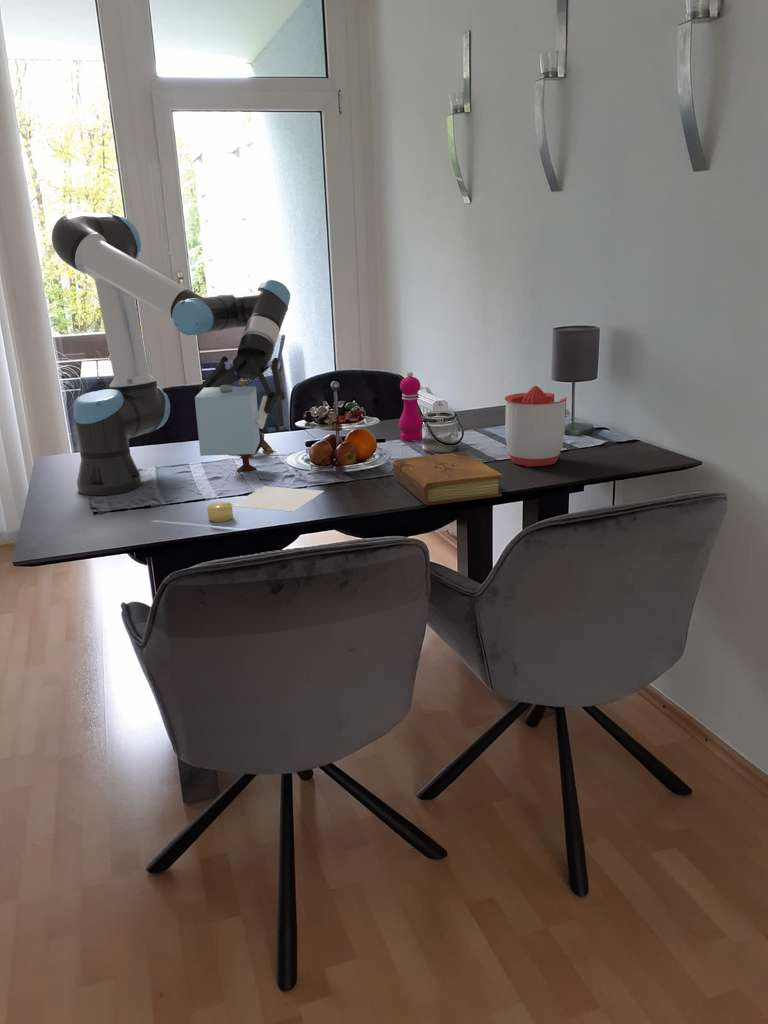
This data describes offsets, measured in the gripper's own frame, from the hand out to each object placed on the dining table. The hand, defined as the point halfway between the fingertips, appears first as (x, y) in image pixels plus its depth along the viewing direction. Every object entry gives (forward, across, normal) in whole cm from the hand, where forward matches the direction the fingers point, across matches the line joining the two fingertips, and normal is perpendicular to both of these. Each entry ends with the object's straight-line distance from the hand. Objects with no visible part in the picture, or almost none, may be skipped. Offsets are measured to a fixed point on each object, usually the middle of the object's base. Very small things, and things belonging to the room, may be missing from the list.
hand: (230, 423), depth 171 cm
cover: (+5, -1, -2) cm, 5 cm away
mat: (+6, -4, -22) cm, 23 cm away
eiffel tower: (-21, +24, -51) cm, 60 cm away
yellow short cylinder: (+18, +1, -10) cm, 21 cm away
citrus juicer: (-27, -56, -55) cm, 83 cm away
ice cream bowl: (-8, +15, -38) cm, 42 cm away
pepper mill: (-39, -16, -69) cm, 81 cm away
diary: (-6, -39, -36) cm, 53 cm away
